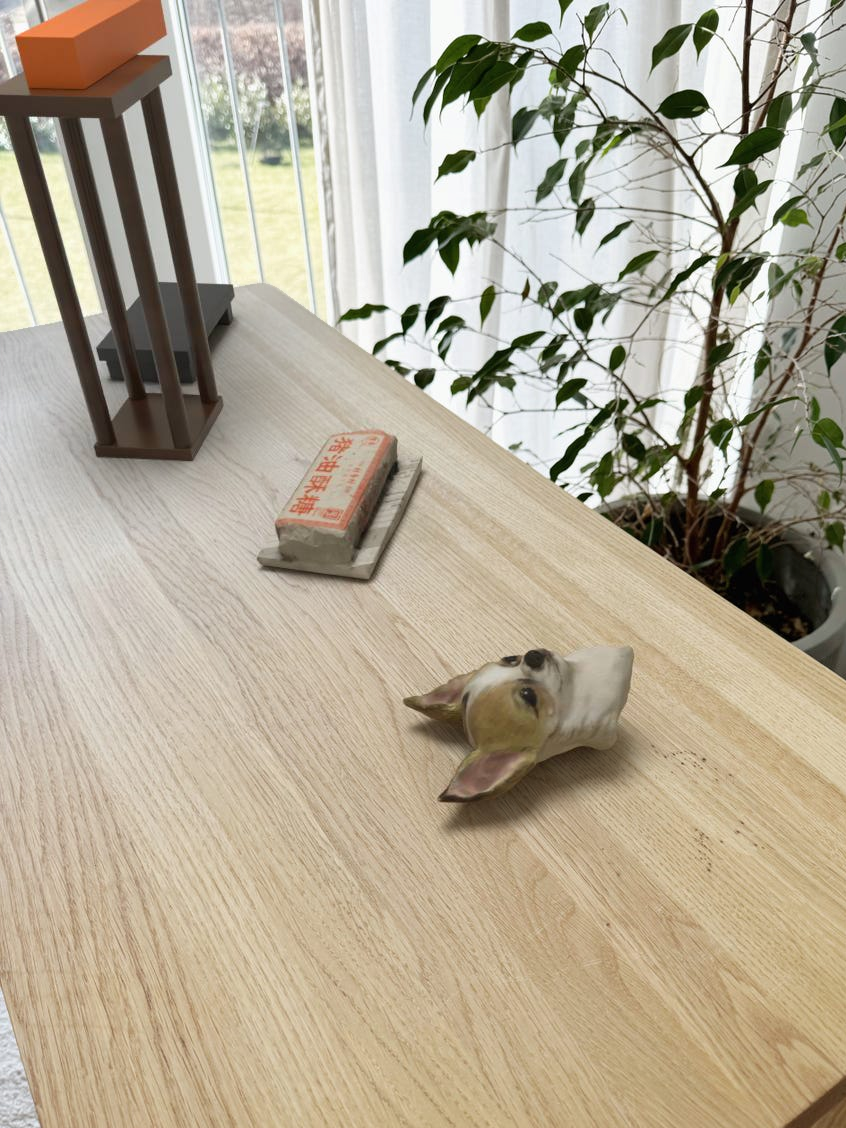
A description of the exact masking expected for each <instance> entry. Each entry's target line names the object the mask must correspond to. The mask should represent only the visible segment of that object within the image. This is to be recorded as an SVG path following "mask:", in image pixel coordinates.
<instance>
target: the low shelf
mask: <svg viewBox="0 0 846 1128" xmlns="http://www.w3.org/2000/svg"><path fill="white" fill-rule="evenodd" d="M158 283H159V287H160V292H161V297H162V301H163V306H164V311H165V315H166V320H167V325H168V329H169V334H170V339H171V343H172V348H173V353H174V357H175V362H176V367H177V371H178V376H179V381H180V383H190V384H193V383H194V382H195V381H196V380H197V379H196V374H195V369H194V364H193V359H192V354H191V349H190V344H189V340H188V335H187V330H186V325H185V320H184V315H183V310H182V305H181V300H180V295H179V290H178V285H177V281H176V282H174V281H173V282H172V281H158ZM197 287H198V292H199V298H200V303H201V308H202V313H203V319H204V324H205V329H206V335H207V339H208V338H209V336H210V335H211V333H212V332H213V331H214V329H215V328H216V326H217V325H231V323H232V322H233V320H234V313H233V308H232V301H234V299H235V297H236V293H235V287H234V284H231V283H208V282H207V283H206V282H205V283H201V282H200V283H199V282H197ZM126 310H127V314H128V319H129V323H130V327H131V331H132V335H133V339H134V344H135V348H136V352H137V356H138V360H139V364H140V369H141V373H142V377H143V381H145V382H159V379H158V374H157V370H156V366H155V361H154V357H153V352H152V348H151V344H150V339H149V335H148V331H147V326H146V322H145V318H144V313H143V309H142V304H141V300H140V296H139V295H138V297H137V298H136V299H135V300H134V301H133V303H132V304H131V305H130V306H129V308H128V309H126ZM95 351H96V354H97V358H98V361H100V362H105V363H106V365H107V371H108V373H109V377H110V378H109V379H110V380H119V381H125V380H124V376H123V372H122V368H121V364H120V360H119V356H118V352H117V348H116V344H115V340H114V336H113V333H112V329H110V331H109V332H108V333H107V334H106V335H105V336H104V337H103V339H102V340H101V341H100V342H99V343H98V344H97V346H96V347H95Z"/></svg>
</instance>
